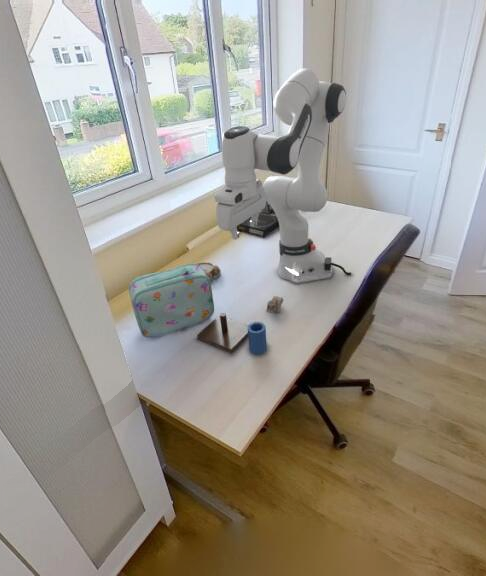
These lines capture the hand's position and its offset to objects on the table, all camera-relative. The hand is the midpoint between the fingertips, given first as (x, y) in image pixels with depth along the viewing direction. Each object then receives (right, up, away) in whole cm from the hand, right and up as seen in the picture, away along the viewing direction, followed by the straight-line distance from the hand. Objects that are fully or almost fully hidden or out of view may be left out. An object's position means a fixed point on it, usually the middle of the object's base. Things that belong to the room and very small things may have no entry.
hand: (245, 232), depth 120 cm
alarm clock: (-19, -13, +42) cm, 48 cm away
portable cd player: (+2, +13, +79) cm, 80 cm away
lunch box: (-24, -30, +17) cm, 42 cm away
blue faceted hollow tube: (+4, -37, +5) cm, 37 cm away
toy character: (+9, -25, +21) cm, 34 cm away
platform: (-7, -33, +11) cm, 35 cm away
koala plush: (+13, +25, +96) cm, 100 cm away
